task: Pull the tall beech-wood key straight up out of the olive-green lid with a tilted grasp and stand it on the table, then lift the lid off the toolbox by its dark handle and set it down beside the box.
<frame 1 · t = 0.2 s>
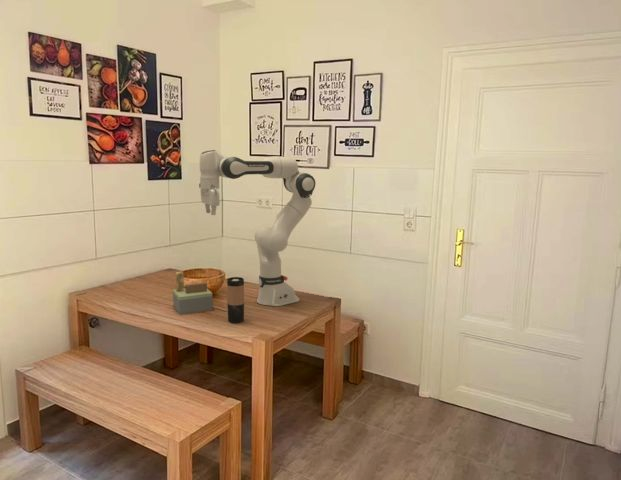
hand: (210, 213, 224), 48 cm above the table, tool pointing down, fingers open, 8 cm apart
travel mug: (236, 321, 218), on the table
wooden key: (180, 306, 233), point 1 cm above the table, touching toolbox
toolbox: (192, 309, 232), on the table
toolbox lid: (192, 294, 231), point 8 cm above the table, touching toolbox
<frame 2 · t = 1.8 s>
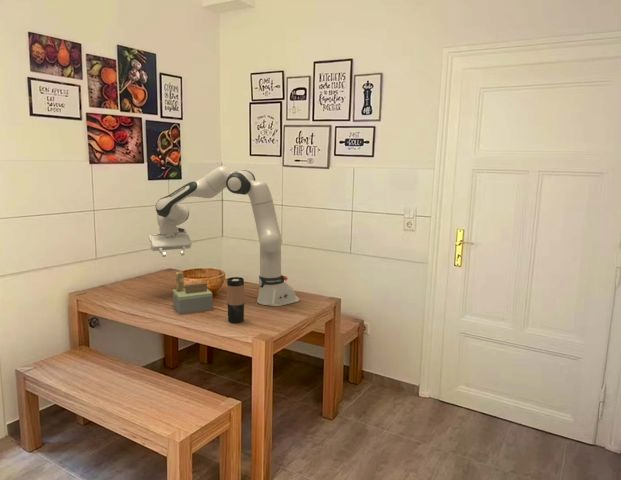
hand: (173, 255, 239), 25 cm above the table, tool tilted 45°, fingers open, 8 cm apart
nothing on the table moved.
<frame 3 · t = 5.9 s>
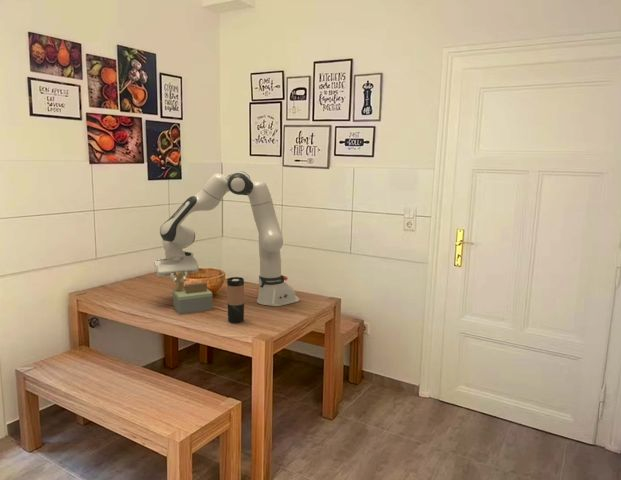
hand: (180, 281, 230), 14 cm above the table, tool tilted 45°, fingers closed on wooden key, 3 cm apart
wooden key: (180, 306, 233), point 1 cm above the table, touching gripper, toolbox
everything else where it was.
when the fingers open (15 cm above the table, at t = 12.8 s): wooden key drops 2 cm, on the table.
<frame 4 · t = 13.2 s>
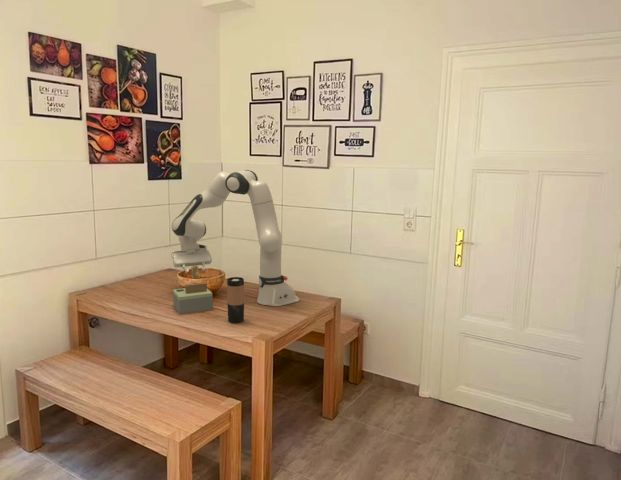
hand: (195, 271, 247), 15 cm above the table, tool tilted 45°, fingers open, 7 cm apart
wooden key: (195, 298, 250), on the table
everything else where it was.
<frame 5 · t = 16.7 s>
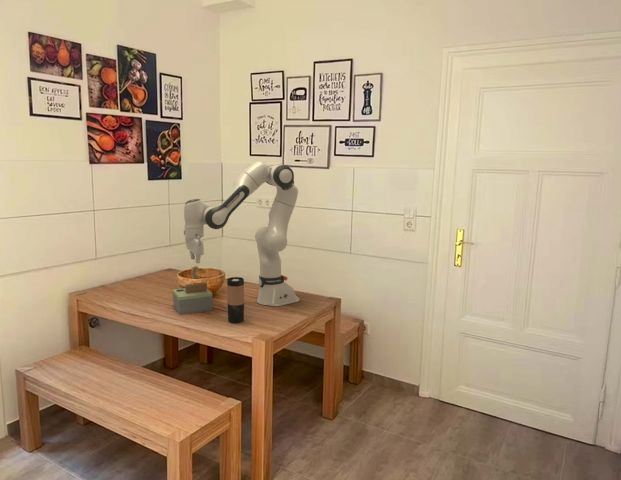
hand: (195, 261, 227), 25 cm above the table, tool pointing down, fingers open, 8 cm apart
nothing on the table moved.
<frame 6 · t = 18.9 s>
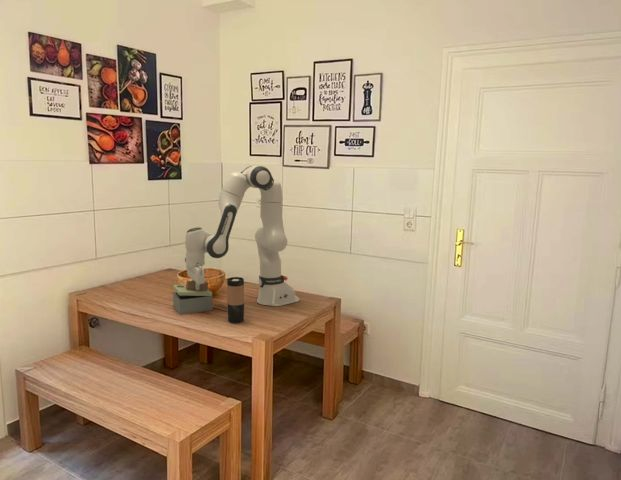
hand: (196, 288, 229), 11 cm above the table, tool pointing down, fingers closed on toolbox lid, 2 cm apart
toolbox lid: (192, 291, 230), point 9 cm above the table, tilted 9°, touching gripper, toolbox
everything else where it was.
when the fingers open (5 cm above the table, at t = 26.1 s): toolbox lid drops 3 cm, on the table.
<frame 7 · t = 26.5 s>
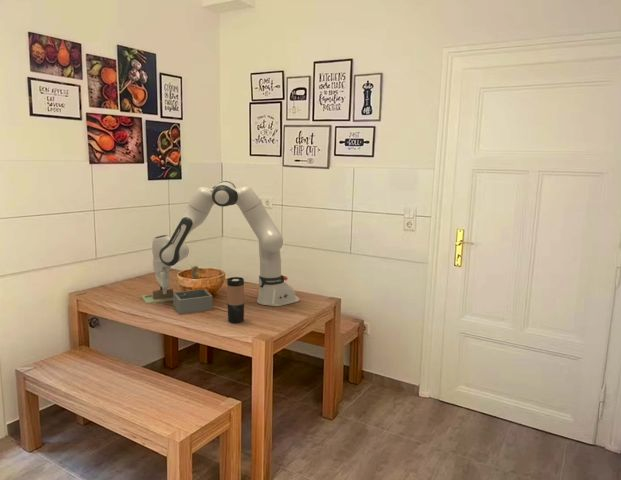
hand: (163, 291, 246), 5 cm above the table, tool pointing down, fingers open, 6 cm apart
toolbox lid: (159, 299, 247), on the table
everything else where it was.
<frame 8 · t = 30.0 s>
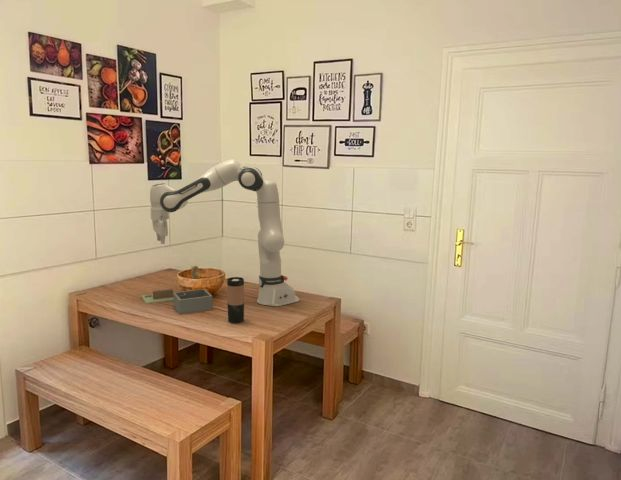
hand: (160, 242, 241), 31 cm above the table, tool pointing down, fingers open, 8 cm apart
nothing on the table moved.
at the end: wooden key inside the target area (1.5 cm from its centre), on the table; toolbox lid inside the target area (0.6 cm from its centre), on the table; the gripper is holding nothing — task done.
